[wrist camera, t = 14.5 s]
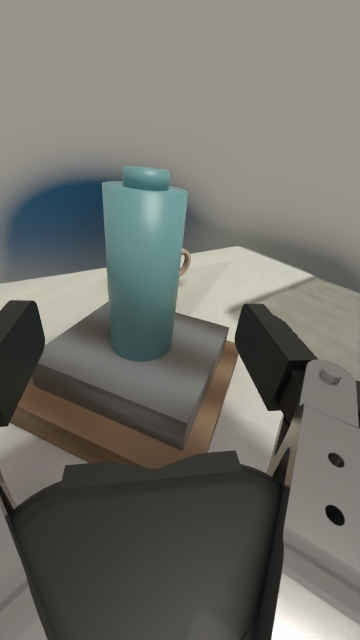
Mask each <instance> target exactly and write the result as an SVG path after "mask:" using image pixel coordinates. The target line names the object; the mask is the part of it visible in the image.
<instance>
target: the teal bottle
mask: <svg viewBox="0 0 360 640" xmlns="http://www.w3.org/2000/svg"><path fill="white" fill-rule="evenodd" d="M122 167H123V181H111V182H104V183H103V184H102V190H103V207H104V225H105V242H106V259H107V277H108V295H109V312H110V329H111V345H112V348H113V350H114V351H115V352H116V353H117V354H118V355H119V356H121V357H123V358H125V359H128V360H132V361H139V362H144V361H152V360H156V359H158V358H161V357H162V356H164V355H165V354H167V353H168V352H169V350H170V349H171V346H172V338H173V328H174V319H175V310H176V300H177V291H178V282H179V272H180V263H181V253H182V244H183V235H184V225H185V216H186V206H187V197H188V192H187V191H186V190H183V189H180V188H176V187H171V186H169V180H170V171H167V170H163V169H156V168H148V167H138V166H122Z"/></svg>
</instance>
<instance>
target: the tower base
mask: <svg viewBox="0 0 360 640" xmlns="http://www.w3.org/2000/svg"><path fill="white" fill-rule="evenodd" d="M228 330H229V327H225V326H222V325H218V324H215V323H211V322H208V321H204V320H201V319H197V318H193V317H190V316H186V315H183V314H179V313H176V312H175V319H174V328H173V338H172V346H171V349H170V350H169V352H168V353H167V354H165V355H164V356H162V357H161V358H158V359H156V360H152V361H144V362H139V361H132V360H128V359H125V358H123V357H121V356H119V355H118V354H117V353H116V352H115V351H114V350H113V348H112V345H111V329H110V312H109V302H107V303H106V304H104V305H103V306H101V307H100V308H98V309H97V310H96V311H94V312H93V313H91V314H90V315H88V316H87V317H85V318H84V319H83V320H81V321H80V322H78V323H77V324H75V325H74V326H72V327H71V328H70V329H68V330H67V331H65V332H64V333H62V334H61V335H59V336H58V337H57V338H55V339H54V340H52V341H51V342H49V343H48V344H47V345H45V346H44V351H43V353H42V355H41V357H40V359H39V362H38V364H37V366H36V368H35V370H34V372H33V374H32V376H31V378H30V380H29V383H28V385H27V387H26V389H25V391H24V393H23V395H22V397H21V399H20V401H19V404H18V406H17V408H16V410H15V412H14V414H13V416H12V418H11V420H10V423H12V424H14V425H16V426H18V427H20V428H22V429H24V430H26V431H28V432H30V433H32V434H34V435H36V436H38V437H40V438H42V439H44V440H46V441H48V442H50V443H52V444H54V445H56V446H58V447H60V448H62V449H64V450H66V451H68V452H70V453H72V454H74V455H76V456H78V457H80V458H82V459H84V460H86V461H88V462H90V463H100V462H116V463H122V464H128V465H133V466H139V467H145V468H150V469H158V468H161V467H164V466H166V465H169V464H172V463H174V462H177V461H180V460H182V459H185V458H187V457H190V456H193V455H195V454H202V453H207V452H208V449H209V446H210V443H211V440H212V437H213V434H214V431H215V427H216V424H217V421H218V418H219V415H220V412H221V409H222V406H223V402H224V399H225V396H226V393H227V390H228V387H229V384H230V381H231V378H232V374H233V371H234V368H235V365H236V361H237V358H238V354H239V353H238V351H237V349H236V346H235V343H233V342H230V341H227V340H226V338H227V334H228Z"/></svg>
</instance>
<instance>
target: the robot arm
mask: <svg viewBox="0 0 360 640" xmlns="http://www.w3.org/2000/svg"><path fill="white" fill-rule="evenodd" d="M44 346H45V337H44V332H43V328H42V324H41V319H40V315H39V311H38V307H37V304H36V302H35V301H20V300H11V301H9V302H8V303H7V304H6V305H5V306H4V307H3V308H2V310H1V311H0V427H5V426H8V425H9V422H10V420H11V418H12V416H13V414H14V412H15V410H16V408H17V406H18V404H19V401H20V399H21V397H22V395H23V393H24V391H25V389H26V387H27V385H28V383H29V380H30V378H31V376H32V374H33V372H34V370H35V368H36V366H37V364H38V362H39V359H40V357H41V355H42V353H43V351H44ZM235 346H236V349H237V351H238V353H239V355H240V357H241V359H242V361H243V363H244V365H245V367H246V369H247V370H248V372H249V374H250V376H251V378H252V380H253V382H254V384H255V386H256V388H257V390H258V392H259V394H260V396H261V398H262V400H263V402H264V404H265V406H266V408H267V410H268V411H277V410H281V411H282V413H283V417H282V419H281V421H280V425H279V429H278V433H277V437H276V441H275V445H274V449H273V453H272V457H271V461H270V464H269V467H268V470H267V473H264V472H262V471H260V470H258V469H256V468H253V467H250V466H247V465H243V464H240V463H239V460H238V457H237V454H236V451H224V452H213V453H202V454H195V455H193V456H190V457H187V458H185V459H182V460H180V461H177V462H174V463H172V464H169V465H166V466H164V467H161V468H158V469H150V468H145V467H139V466H133V465H128V464H122V463H116V462H100V463H89V464H77V465H66V466H65V469H64V473H63V478H62V481H60V482H57V483H55V484H53V485H51V486H48V487H46V488H44V489H42V490H41V491H39V492H37V493H36V494H34V495H32V496H31V497H29V498H28V499H27V500H25V501H24V502H23V503H21V504H20V505H19V506H17V507H16V505H15V503H14V501H13V499H12V497H11V495H10V493H9V490H8V488H7V486H6V483H5V481H4V478H3V476H2V473H1V471H0V640H360V381H355V379H354V378H353V376H352V375H351V374H350V373H349V372H348V371H347V370H345V369H344V368H343V367H341V366H339V365H337V364H335V363H333V362H330V361H326V360H318V359H317V357H316V356H315V355H314V354H313V353H312V352H311V351H310V350H309V348H308V347H307V346H306V345H305V344H304V343H303V342H302V341H301V339H300V338H298V336H297V335H296V334H295V333H294V332H292V329H291V328H290V327H289V326H288V325H287V324H286V322H284V321H283V320H281V319H279V318H278V317H276V316H273V315H272V313H271V312H270V311H269V310H268V309H267V307H266V306H265V305H264V304H244V305H243V307H242V310H241V314H240V318H239V321H238V325H237V329H236V333H235Z"/></svg>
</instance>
